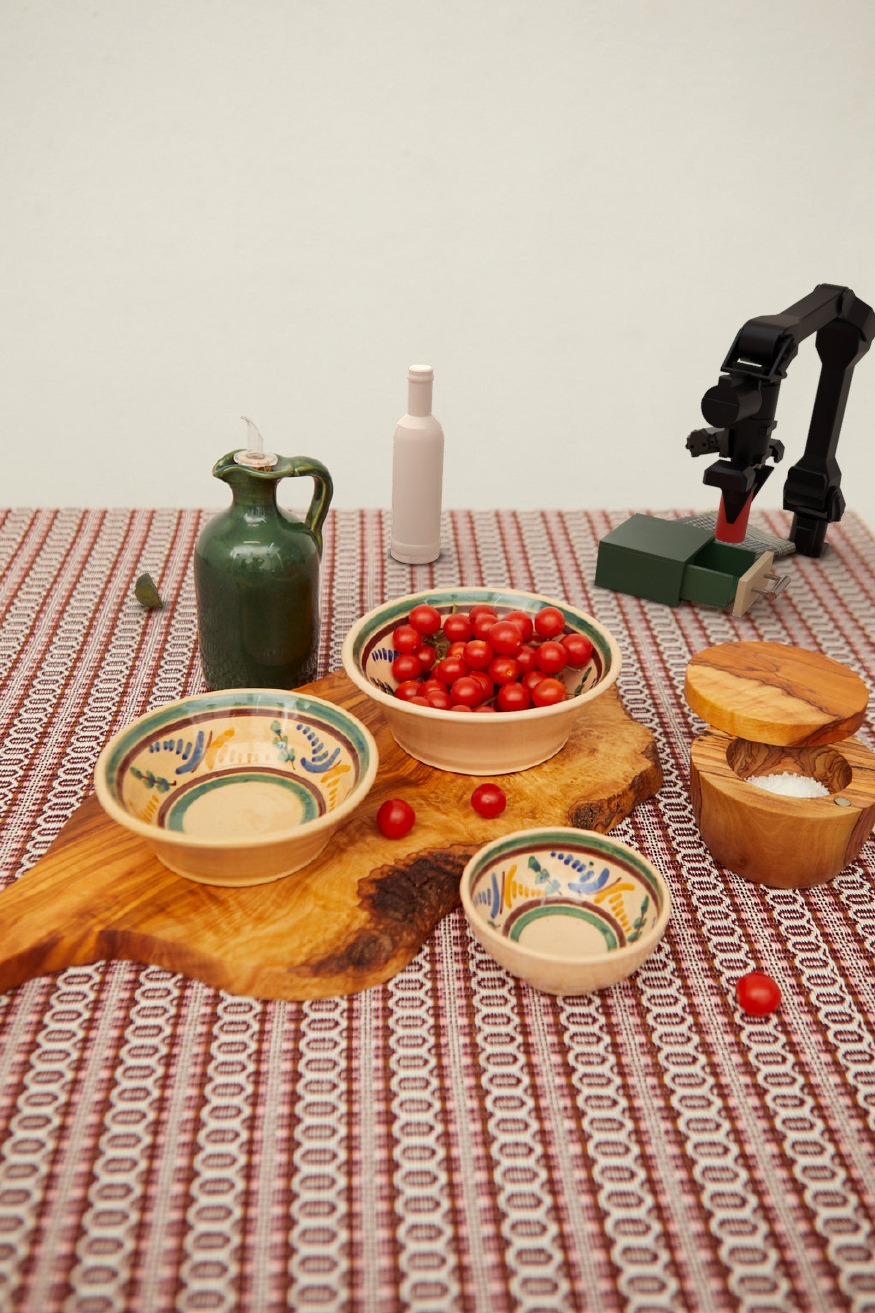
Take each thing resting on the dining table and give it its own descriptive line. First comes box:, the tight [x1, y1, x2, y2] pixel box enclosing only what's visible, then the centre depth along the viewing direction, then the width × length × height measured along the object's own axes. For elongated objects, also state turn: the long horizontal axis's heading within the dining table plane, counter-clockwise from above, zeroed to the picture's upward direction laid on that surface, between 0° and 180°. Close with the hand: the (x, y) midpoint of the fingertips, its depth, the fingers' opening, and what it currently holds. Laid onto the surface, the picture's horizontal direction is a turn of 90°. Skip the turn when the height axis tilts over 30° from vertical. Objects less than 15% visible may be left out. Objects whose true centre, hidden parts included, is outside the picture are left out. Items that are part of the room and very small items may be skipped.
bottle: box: [389, 363, 445, 565], centre depth 168 cm, size 8×8×30 cm
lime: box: [133, 572, 164, 609], centre depth 154 cm, size 4×5×5 cm
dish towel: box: [668, 510, 796, 562], centre depth 183 cm, size 19×18×3 cm
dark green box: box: [593, 512, 716, 609], centre depth 168 cm, size 13×14×7 cm
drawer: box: [680, 540, 792, 618], centre depth 163 cm, size 16×13×6 cm
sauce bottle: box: [714, 492, 753, 543], centre depth 160 cm, size 4×4×10 cm
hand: (735, 518), depth 161 cm, fingers closed on sauce bottle, 4 cm apart
